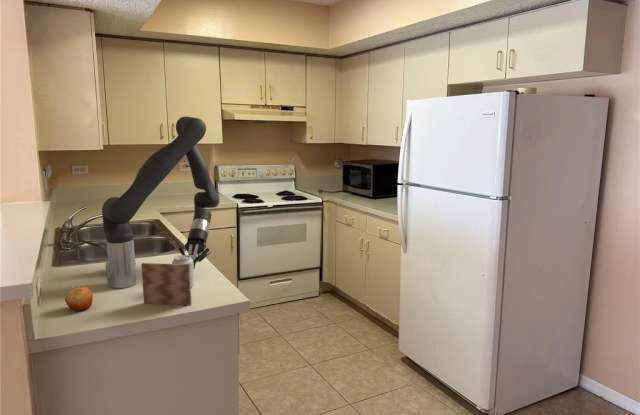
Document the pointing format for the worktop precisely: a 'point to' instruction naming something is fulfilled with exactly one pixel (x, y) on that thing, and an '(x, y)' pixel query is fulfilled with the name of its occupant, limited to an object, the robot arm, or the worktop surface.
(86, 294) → the fruit
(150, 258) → the worktop surface
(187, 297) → the brown wooden block
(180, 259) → the can
